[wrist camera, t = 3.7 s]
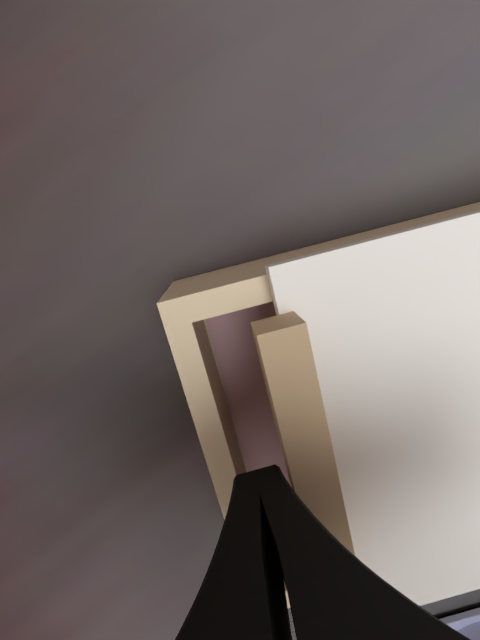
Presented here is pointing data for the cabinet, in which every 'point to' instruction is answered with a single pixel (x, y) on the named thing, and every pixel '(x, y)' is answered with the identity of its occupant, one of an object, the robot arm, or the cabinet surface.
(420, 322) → the lid
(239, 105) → the cabinet surface
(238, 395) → the box
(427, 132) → the cabinet surface
